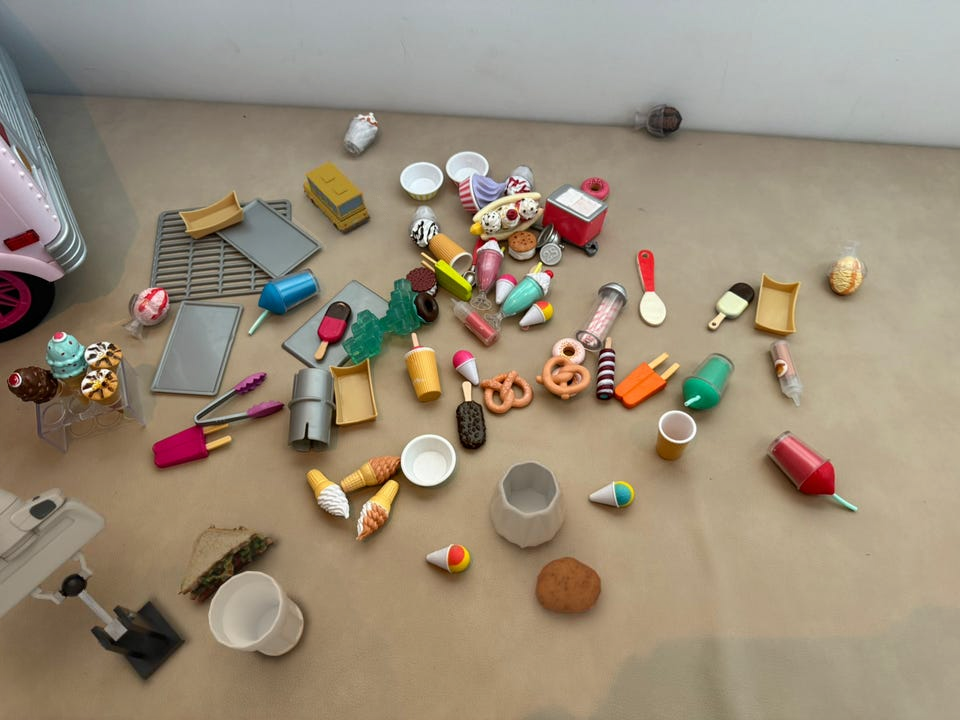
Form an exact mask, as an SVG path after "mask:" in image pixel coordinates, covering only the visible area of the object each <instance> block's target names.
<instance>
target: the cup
mask: <svg viewBox="0 0 960 720" xmlns="http://www.w3.org/2000/svg"><path fill="white" fill-rule="evenodd" d="M207 617H208V618H207V619H208V625H209V630H210V632H211V633H212V635H213V637H214V638H215V640H216V641H217V642H218V643H220V644H222V645H224V646H225V647H228V649H229V648H230V649H233V650H236V651H239V652H255V651H258V652H259V653H262V654H264V655H267V656H272V657H280V656H283V655H284V654H287V653H289V652H290V651H292V649H294V648H295V647H296V646H297V645H298V644H299V642H300V640H301V638H302V636H303V635H304V629H305V625H306V624H305V617H304V614H303V612H302V610H301V608H300V607H299V606H298V605H297V604H296V603H295V602H293V601H292V599H290V598H289V597H288V593H286V591H285V589H283V587H282V586H281V584H280V583H279V582H278V581H277V580H276V579H275V578H273V577H272V576H271V575H268V574H266V573H264V572H262V571H253V570H252V571H251V570H246V571H243V572H241V573H238V574H235V575H234V576H232V577H231V578H230V579H229V580H228V581H227V582H225V583H224V584H223V585H221V586H220V587H219V588H218V589H217V590H216V592H215V594H214V596H213V598H212V599H211V602H210V606H209V610H208V614H207Z"/></svg>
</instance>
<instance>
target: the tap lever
mask: <svg viewBox="0 0 960 720" xmlns="http://www.w3.org/2000/svg"><path fill="white" fill-rule="evenodd" d="M87 587H88V580H85V579H83V577H81V576H80V575H78V572H77V573H76V572H75V573H70V574H68V575H67V576H66V577H65V578H64V579H63V580H62V581H61V584H60V589H61V590H62V593H63V594H64V595H66V596H67V598H68V597H69V598H76V597H78V598H80V600H82V601H83V603H84V604H85V605H86V606H87V607H88V608H89V609H91V611H92V612H93V613H94V614H95V615H96V616H97V617H98V618H99V619H100V620H101V621H102V622H103V623H104V624H105V625H106V626H105V627H103V628H104V630H105V631H106V632H107V633H108V634H109V635H110V636H111V637H112V638H113V639H114V640H115V641H118V640H120V639H121V638H122V637H123V636H124V635H126V634H127V633H128V632H129V631H130V629H128V628H127V627H126V626H125V625H124V623H123V622H122V621H121V620H120V618H119V617H118V616H117V617H113V616H112V615H111V614H110V612H108V610H106V609H105V608H104V607H103V606H102V605H101V604H100V602H99V601H97V600H96V599H95V598H94V597H93V596H92V594H91V593H90V592H89V591H87Z"/></svg>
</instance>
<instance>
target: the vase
mask: <svg viewBox="0 0 960 720" xmlns="http://www.w3.org/2000/svg"><path fill="white" fill-rule="evenodd" d="M565 506H566V505H565V495H564V492H563V489H562V487H561V484H560V482H559V481H558V477H557V473H556V472H555V470H554V469H552V468H551V467H549V466H547V465H546V464H543V463H542V462H540V461H538V460H536V459H527V460H522V461H516V462H514V463H511V464H510V465H508V466H507V468H506V469H505V472H504V473H503V474H502V475H501V476H500V477H499V479H498V480H497V482H496V483H495V485H494V488H493V490H492V494H491V497H490V501H489V515H490V517H491V521H492V523H493V526H494V529H495V533H497V534H498V535H500V536H502V537H503V538H504V539H506V540H507V541H508V542H509V543H512V544H515V545H517V546H519V548H521V549H525V548H526V547H537V546H539V545H541V544H544V543H546V542H550V541H552V540H553V538H554V537H555V535H556V534H557V532H558V531H559V529H560V528H561V526H562V525H563V522H564V519H565V517H566V507H565Z"/></svg>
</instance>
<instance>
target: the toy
mask: <svg viewBox="0 0 960 720" xmlns="http://www.w3.org/2000/svg"><path fill="white" fill-rule="evenodd" d="M304 175H305V176H306V179H307V181H305V182H302V187H303V189H304V190H303V192H304V193H303V194H306V195H307V196H308V197H309V199H310V200H311V203H312V204H313V205H314V206H317V207H318V208H319V209H320V210H321V211H322V212H323V213H324V215H326V216H327V218H329V219H330V220H331V223H332V224H333V225H334V227H335V228H336V229H337V230H339V231H340V232H341V233H342V234H346V233H348V232H349V231H351V230H353V229H354V228H357V227H358V226H360V225H362V224H364V223H365V222H367V221H369V220H370V219H371V215H370V214H369V211H368V208H367V207H366V203H365V198H364V195H363V192H362V191H361V190H360V188H358V187H357V185H355V184H354V183H353V182H352V181H351V180H350V179H349V178H348V177H347V176H346V175H345V174H344V173H343V172H342V171H341V170H340V169H339V168H338V167H336V165H335V164H334V163H333V162H331V161H328V162H326V163H324V164H322V165H320V166H318V167H316V168H314V169H312V170H310V171H308V172H307V173H304Z"/></svg>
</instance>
